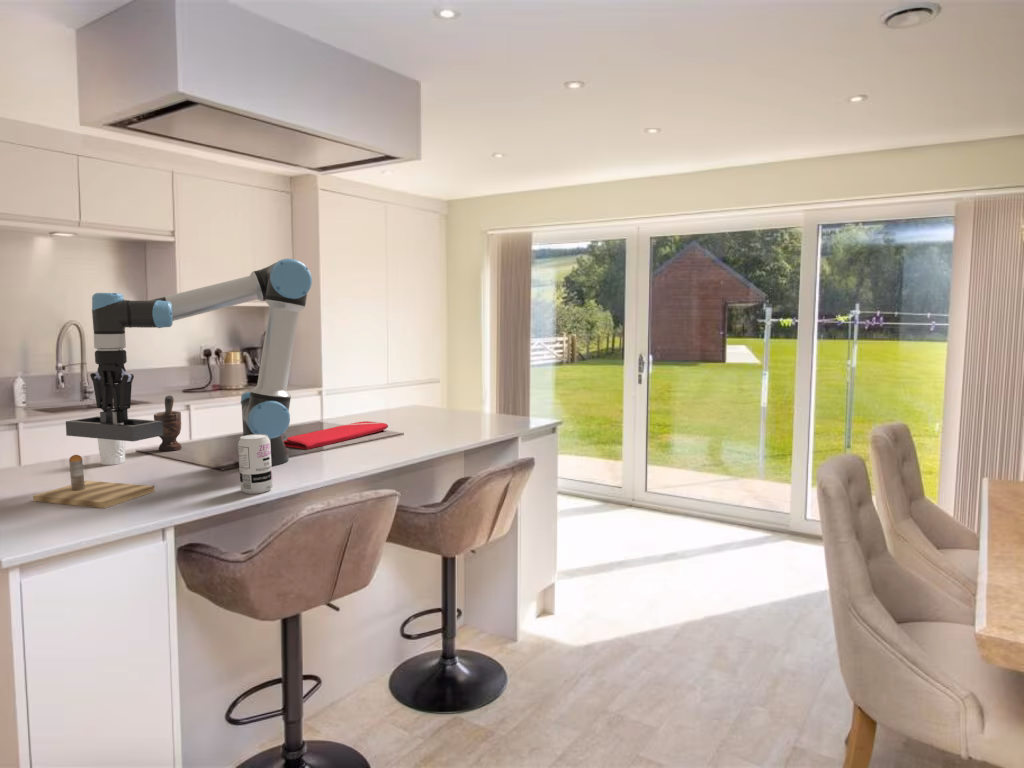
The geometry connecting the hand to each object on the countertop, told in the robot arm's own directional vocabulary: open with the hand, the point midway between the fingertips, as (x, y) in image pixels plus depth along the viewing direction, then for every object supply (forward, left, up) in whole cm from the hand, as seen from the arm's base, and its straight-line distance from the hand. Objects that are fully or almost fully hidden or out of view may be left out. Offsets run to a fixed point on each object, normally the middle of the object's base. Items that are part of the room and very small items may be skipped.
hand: (115, 434), depth 193 cm
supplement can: (-40, -7, -16) cm, 43 cm away
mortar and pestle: (+24, -45, -16) cm, 54 cm away
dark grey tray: (0, 0, 0) cm, 0 cm away
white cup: (+28, -24, -16) cm, 41 cm away
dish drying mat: (-21, -79, -16) cm, 84 cm away
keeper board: (-1, +9, -15) cm, 17 cm away
